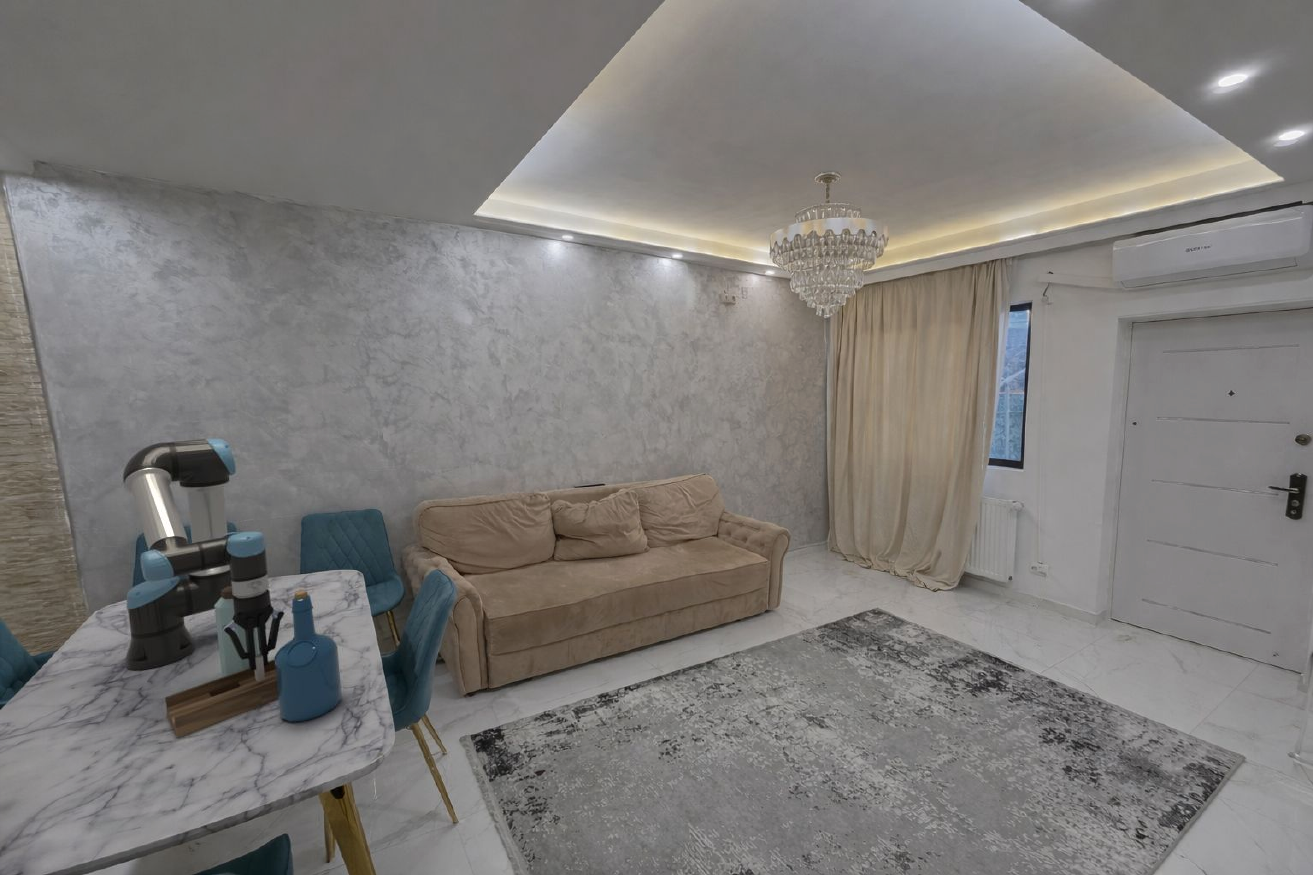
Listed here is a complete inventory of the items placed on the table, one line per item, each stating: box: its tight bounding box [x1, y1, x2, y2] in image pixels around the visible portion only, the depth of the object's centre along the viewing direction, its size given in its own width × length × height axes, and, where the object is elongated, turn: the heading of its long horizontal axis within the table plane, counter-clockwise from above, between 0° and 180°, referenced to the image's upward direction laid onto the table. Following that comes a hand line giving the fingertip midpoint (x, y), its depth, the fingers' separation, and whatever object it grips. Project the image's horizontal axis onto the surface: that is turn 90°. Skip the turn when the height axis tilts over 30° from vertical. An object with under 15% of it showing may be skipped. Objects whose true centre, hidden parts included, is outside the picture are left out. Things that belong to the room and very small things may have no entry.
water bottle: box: [214, 586, 260, 677], centre depth 147 cm, size 10×10×25 cm
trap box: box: [164, 659, 278, 739], centre depth 137 cm, size 13×30×6 cm, turn 140°
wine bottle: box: [273, 590, 342, 723], centre depth 131 cm, size 14×13×30 cm
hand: (260, 679), depth 139 cm, fingers closed
